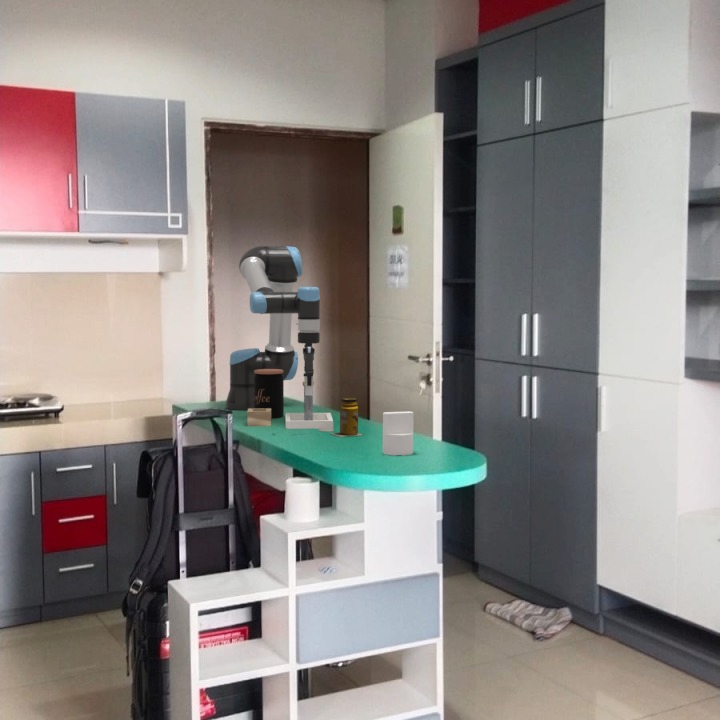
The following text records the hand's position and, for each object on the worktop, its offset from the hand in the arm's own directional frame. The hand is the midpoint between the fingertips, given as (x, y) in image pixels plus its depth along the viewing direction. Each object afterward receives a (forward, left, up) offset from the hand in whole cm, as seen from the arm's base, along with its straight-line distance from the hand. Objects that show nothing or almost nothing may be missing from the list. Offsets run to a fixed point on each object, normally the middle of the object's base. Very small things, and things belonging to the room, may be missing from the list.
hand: (308, 393), depth 329 cm
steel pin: (0, 0, -11) cm, 11 cm away
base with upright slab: (+51, +25, -12) cm, 58 cm away
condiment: (+17, +12, -12) cm, 24 cm away
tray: (0, 0, -12) cm, 12 cm away
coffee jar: (-19, -14, -12) cm, 26 cm away
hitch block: (0, -17, -12) cm, 21 cm away
